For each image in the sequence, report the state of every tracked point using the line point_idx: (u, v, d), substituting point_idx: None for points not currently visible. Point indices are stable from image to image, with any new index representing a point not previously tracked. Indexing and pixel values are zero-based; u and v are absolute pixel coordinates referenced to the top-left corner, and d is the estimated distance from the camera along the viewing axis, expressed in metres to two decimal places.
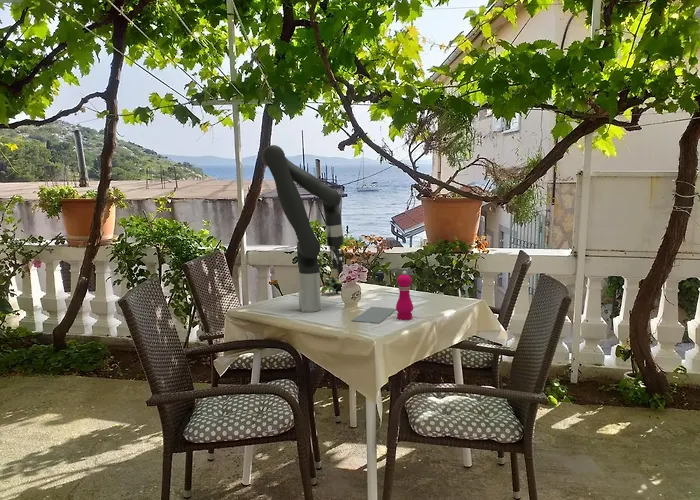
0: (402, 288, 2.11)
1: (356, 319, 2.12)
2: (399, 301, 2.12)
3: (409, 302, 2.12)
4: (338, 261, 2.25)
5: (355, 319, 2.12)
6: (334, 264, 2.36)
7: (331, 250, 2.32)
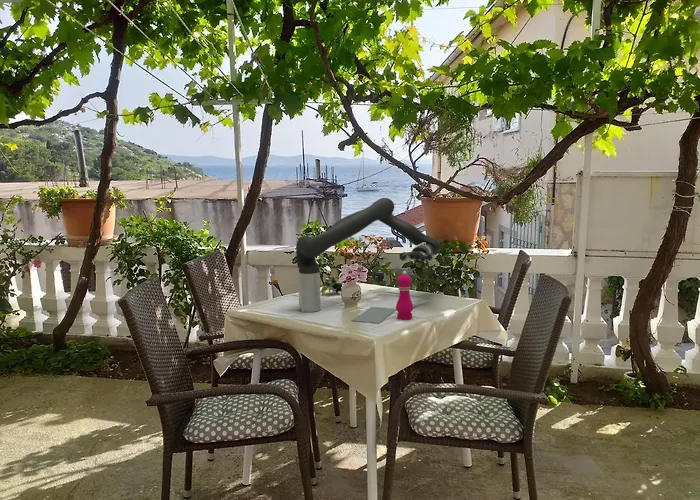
0: (402, 288, 2.11)
1: (356, 319, 2.12)
2: (399, 301, 2.12)
3: (409, 302, 2.12)
4: (430, 254, 2.24)
5: (355, 319, 2.12)
6: (404, 257, 2.25)
7: (415, 251, 2.30)
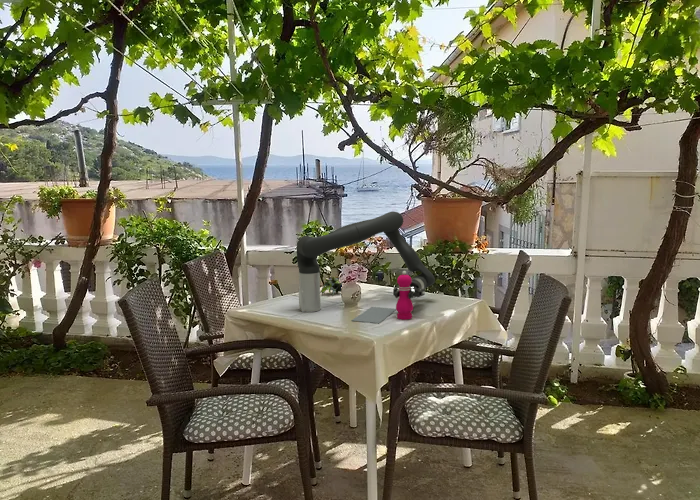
0: (402, 288, 2.11)
1: (356, 319, 2.12)
2: (399, 301, 2.12)
3: (409, 302, 2.12)
4: (418, 291, 2.13)
5: (355, 319, 2.12)
6: (398, 293, 2.14)
7: None
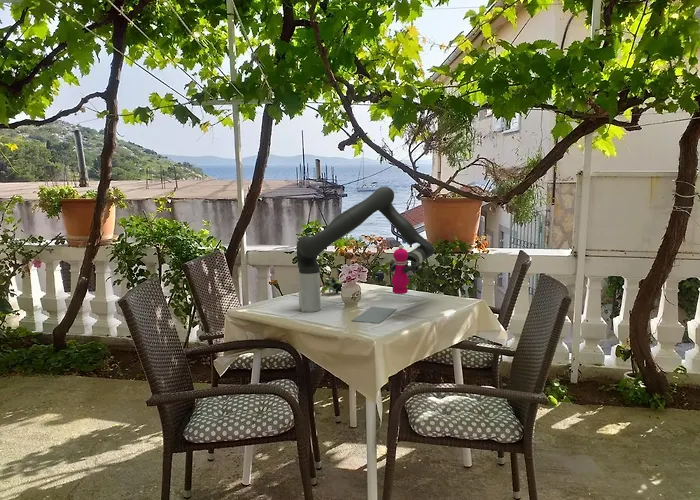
0: (398, 262, 2.09)
1: (356, 319, 2.12)
2: (395, 275, 2.11)
3: (405, 277, 2.10)
4: (414, 265, 2.11)
5: (355, 319, 2.12)
6: (394, 267, 2.12)
7: None
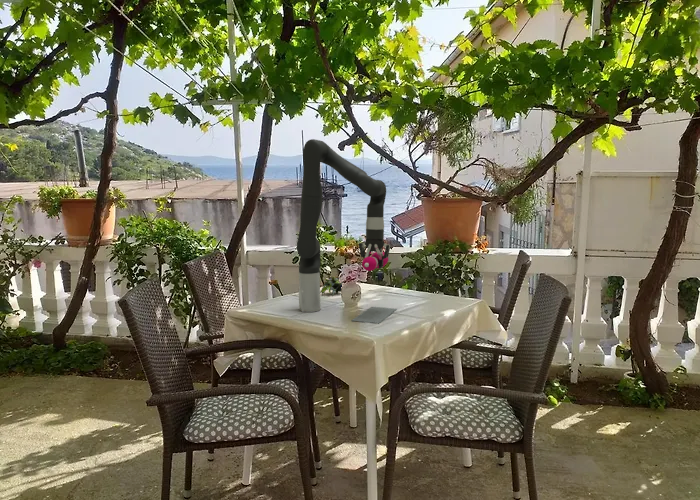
0: None
1: (356, 319, 2.12)
2: None
3: None
4: (385, 257, 2.13)
5: (355, 319, 2.12)
6: None
7: (371, 244, 2.14)
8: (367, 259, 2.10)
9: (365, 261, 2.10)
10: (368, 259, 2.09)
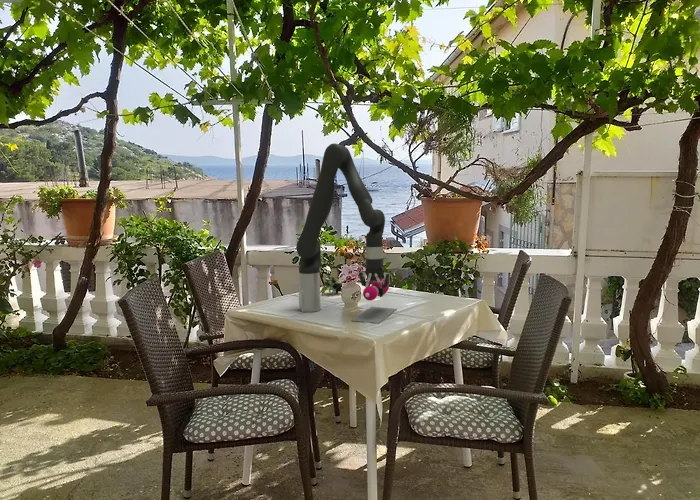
0: None
1: (356, 319, 2.12)
2: None
3: None
4: (385, 285, 2.15)
5: (355, 319, 2.12)
6: None
7: (371, 273, 2.16)
8: (368, 289, 2.11)
9: (366, 291, 2.11)
10: (368, 289, 2.11)
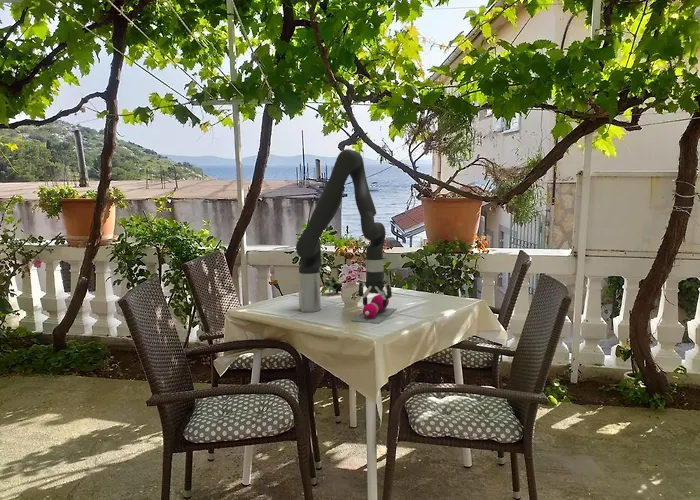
0: None
1: (356, 319, 2.12)
2: None
3: (382, 308, 2.21)
4: (389, 296, 2.15)
5: (355, 319, 2.12)
6: (366, 301, 2.20)
7: (371, 286, 2.17)
8: (367, 307, 2.12)
9: (365, 309, 2.12)
10: (368, 307, 2.12)
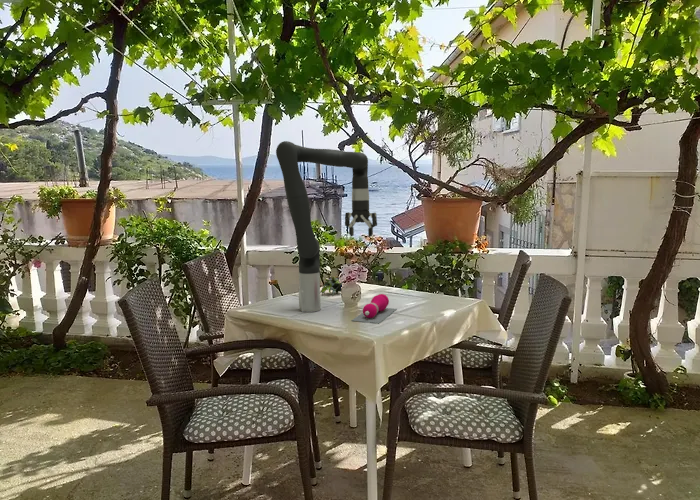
0: None
1: (356, 319, 2.12)
2: None
3: (382, 308, 2.21)
4: (374, 224, 2.21)
5: (355, 319, 2.12)
6: (352, 231, 2.27)
7: (357, 215, 2.23)
8: (367, 307, 2.12)
9: (365, 309, 2.12)
10: (368, 307, 2.12)
